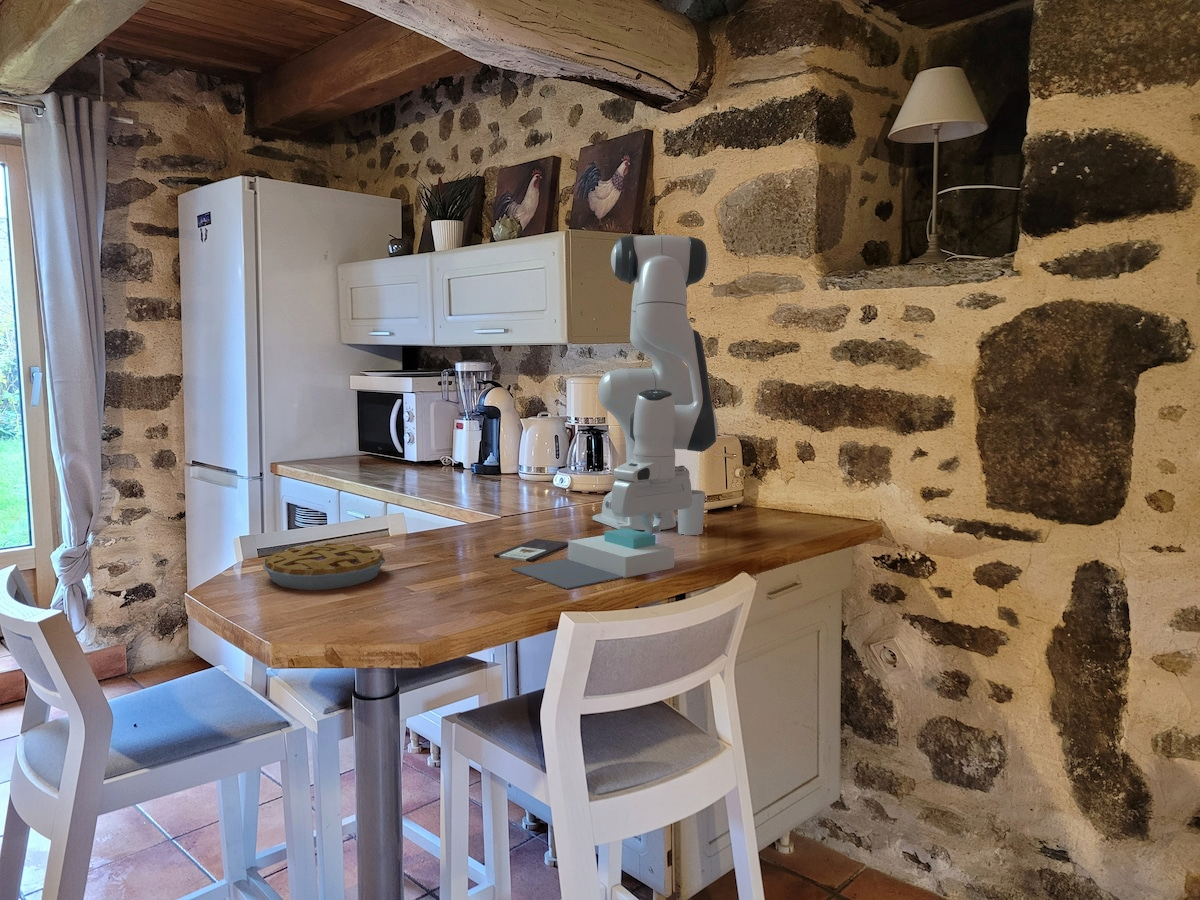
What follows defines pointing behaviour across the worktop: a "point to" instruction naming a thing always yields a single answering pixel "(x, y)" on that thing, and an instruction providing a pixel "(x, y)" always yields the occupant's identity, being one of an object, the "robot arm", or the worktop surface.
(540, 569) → the mat
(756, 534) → the worktop surface
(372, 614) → the worktop surface
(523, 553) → the chocolate bar
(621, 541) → the teal block
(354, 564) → the pie
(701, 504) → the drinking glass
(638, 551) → the grey flat block
